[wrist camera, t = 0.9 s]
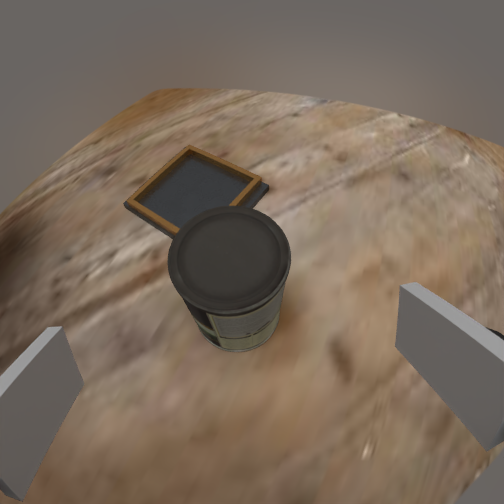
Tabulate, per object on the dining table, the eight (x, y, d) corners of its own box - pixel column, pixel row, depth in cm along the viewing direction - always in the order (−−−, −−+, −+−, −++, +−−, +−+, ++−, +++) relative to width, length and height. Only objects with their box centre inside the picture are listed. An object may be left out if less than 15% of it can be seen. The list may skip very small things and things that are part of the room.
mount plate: (125, 207, 47) (120, 198, 45) (186, 151, 53) (184, 141, 51) (206, 261, 42) (204, 252, 40) (268, 189, 48) (269, 179, 46)
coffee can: (182, 335, 37) (146, 287, 25) (215, 264, 42) (198, 193, 30) (263, 365, 35) (267, 331, 23) (290, 288, 40) (305, 222, 28)
